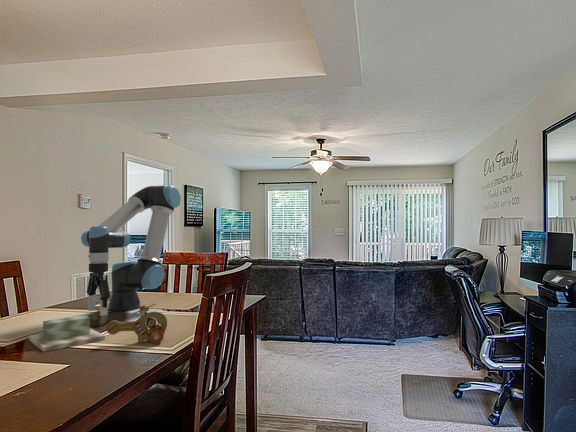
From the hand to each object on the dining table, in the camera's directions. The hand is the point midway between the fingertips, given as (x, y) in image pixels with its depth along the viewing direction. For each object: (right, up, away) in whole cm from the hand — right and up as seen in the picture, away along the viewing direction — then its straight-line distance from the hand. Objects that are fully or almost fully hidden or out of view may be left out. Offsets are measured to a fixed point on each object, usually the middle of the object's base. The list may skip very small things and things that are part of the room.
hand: (97, 312), depth 175 cm
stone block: (0, -5, 0) cm, 5 cm away
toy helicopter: (+27, -5, -26) cm, 38 cm away
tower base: (-1, -5, -23) cm, 23 cm away
